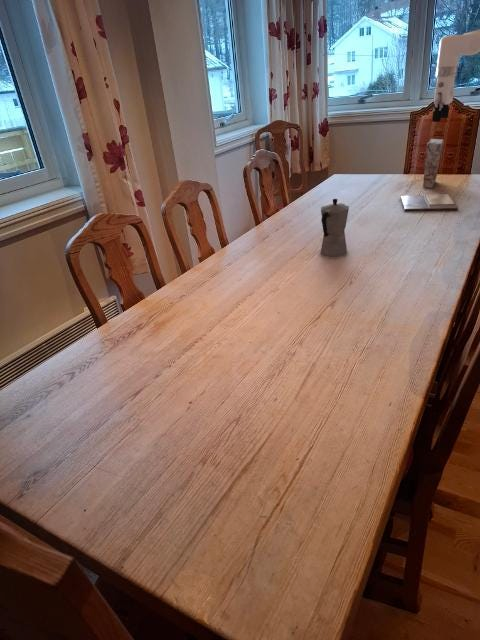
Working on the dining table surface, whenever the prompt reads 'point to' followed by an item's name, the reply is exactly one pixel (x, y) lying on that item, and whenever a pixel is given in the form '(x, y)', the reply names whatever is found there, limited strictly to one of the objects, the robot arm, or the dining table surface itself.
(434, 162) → the stone block
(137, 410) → the dining table surface
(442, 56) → the robot arm
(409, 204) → the board
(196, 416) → the dining table surface
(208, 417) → the dining table surface
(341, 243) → the coffeepot
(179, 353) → the dining table surface
